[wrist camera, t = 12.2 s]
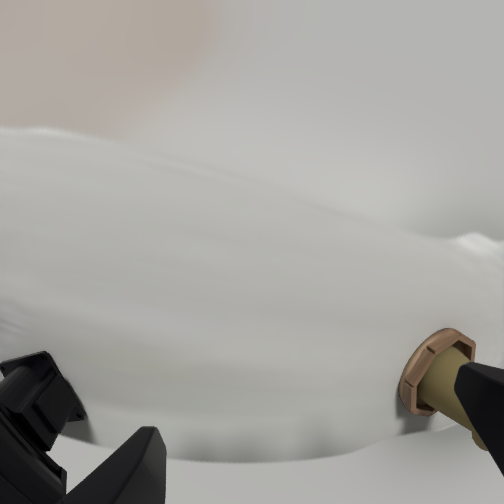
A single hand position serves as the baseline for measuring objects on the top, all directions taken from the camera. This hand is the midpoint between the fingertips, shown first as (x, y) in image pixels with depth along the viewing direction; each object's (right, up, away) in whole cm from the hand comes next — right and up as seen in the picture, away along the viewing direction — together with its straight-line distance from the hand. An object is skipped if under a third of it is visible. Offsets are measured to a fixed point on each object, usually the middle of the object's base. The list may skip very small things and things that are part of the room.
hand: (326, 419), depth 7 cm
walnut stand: (+16, -7, +17) cm, 24 cm away
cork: (+16, -7, +16) cm, 24 cm away
